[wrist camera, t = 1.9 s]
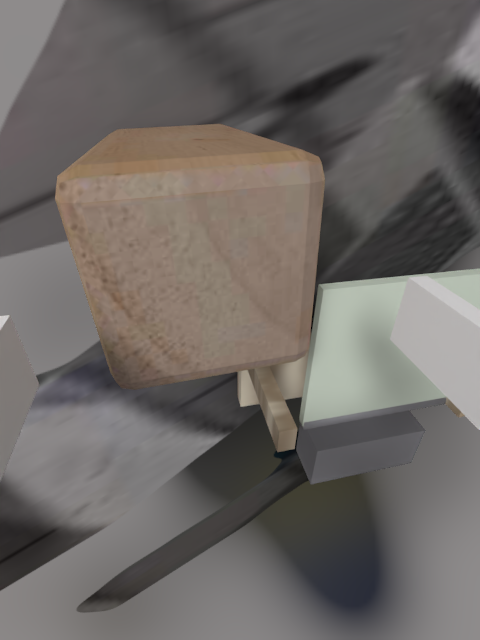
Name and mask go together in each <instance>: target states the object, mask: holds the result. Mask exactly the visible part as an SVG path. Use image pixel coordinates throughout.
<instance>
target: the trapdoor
mask: <svg viewBox="0 0 480 640" xmlns="http://www.w3.org/2000/svg"><path fill="white" fill-rule="evenodd" d="M419 276H428V277H430V278H431V279H433V280H434V281H436V282H438V283H439V284H441V285H442V286H444V287H445V288H447V289H448V290H450V291H451V292H453V293H455V294H456V295H458V296H459V297H461V298H462V299H464V300H465V301H467V302H469V303H470V304H472V305H473V306H475V307H476V308H478V309H479V310H480V269H471V270H460V271H450V272H440V273H430V274H420V275H410V276H399V277H389V278H379V279H369V280H359V281H349V282H338V283H328V284H319V286H318V292H317V299H316V306H315V313H314V320H313V327H312V334H311V341H310V348H309V354H308V361H307V368H306V375H305V382H304V389H303V396H302V403H301V410H300V417H299V421H300V427H299V434H298V441H297V447H296V451H297V453H298V455H299V458H300V460H301V462H302V465H303V467H304V470H305V472H306V474H307V477H308V479H309V482H310V484H314V483H319V482H324V481H328V480H333V479H338V478H343V477H347V476H352V475H357V474H361V473H366V472H371V471H375V470H380V469H385V468H390V467H394V466H398V465H403V464H408V463H411V462H412V460H413V457H414V455H415V453H416V450H417V448H418V446H419V444H420V441H421V439H422V437H423V434H424V433H425V429H424V428H423V427H422V426H421V424H420V423H419V422H418V421H417V420H416V418H415V417H414V416H413V415H412V414H411V412H410V411H409V410H414V409H420V408H426V407H431V406H437V405H442V404H445V403H446V398H447V397H446V396H445V395H444V394H443V393H442V392H441V391H440V390H439V389H438V388H437V387H436V386H435V385H434V384H433V383H432V382H431V381H430V380H429V379H428V378H427V377H426V375H425V374H424V373H423V372H422V371H421V370H420V369H419V368H418V367H417V366H416V365H415V364H414V363H413V362H412V361H411V360H410V359H409V358H408V357H407V356H406V355H405V354H404V353H403V352H402V351H401V350H400V349H399V348H398V347H397V346H396V345H395V344H394V343H393V342H392V341H391V340H390V337H391V334H392V330H393V327H394V324H395V320H396V317H397V314H398V310H399V307H400V304H401V301H402V297H403V294H404V291H405V287H406V284H407V281H408V278H409V277H419Z"/></svg>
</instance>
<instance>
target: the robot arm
mask: <svg viewBox="0 0 480 640" xmlns="http://www.w3.org/2000/svg"><path fill="white" fill-rule="evenodd" d="M390 340H391V341H392V342H393V343H394V344H395V345H396V346H397V347H398V348H399V349H400V350H401V351H402V352H403V353H404V354H405V355H406V356H407V357H408V358H409V359H410V360H411V361H412V362H413V363H414V364H415V365H416V366H417V367H418V368H419V369H420V370H421V371H422V372H423V373H424V374H425V375H426V377H427V378H428V379H429V380H430V381H431V382H432V383H433V384H434V385H435V386H436V387H437V388H438V389H439V390H440V391H441V392H442V393H443V394H444V395H445V396H446V397H447V398H448V399H449V400H450V401H451V402H452V403H453V404H454V405H455V406H456V407H457V408H458V409H459V410H460V411H461V412H462V413H463V414H464V415H465V416H466V417H467V418H468V419H469V420H470V421H471V422H472V423H473V424H474V425H475V426H476V427H477V428H478V429H479V430H480V310H479V309H478V308H476V307H475V306H473V305H472V304H470V303H469V302H467V301H465V300H464V299H462V298H461V297H459V296H458V295H456V294H455V293H453V292H451V291H450V290H448V289H447V288H445V287H444V286H442V285H441V284H439V283H438V282H436V281H434V280H433V279H431V278H430V277H428V276H419V277H409V278H408V281H407V284H406V287H405V291H404V294H403V297H402V301H401V304H400V307H399V310H398V314H397V317H396V320H395V324H394V327H393V330H392V334H391V337H390ZM38 387H39V383H38V380H37V378H36V376H35V374H34V371H33V369H32V366H31V364H30V362H29V359H28V357H27V354H26V352H25V350H24V347H23V345H22V343H21V340H20V338H19V336H18V333H17V331H16V328H15V326H14V324H13V321H12V319H11V316H10V315H7V316H0V481H1V479H2V476H3V474H4V471H5V469H6V466H7V464H8V461H9V459H10V456H11V454H12V452H13V449H14V447H15V444H16V442H17V439H18V437H19V434H20V432H21V429H22V427H23V424H24V422H25V419H26V417H27V414H28V412H29V409H30V407H31V404H32V402H33V399H34V397H35V394H36V392H37V389H38Z"/></svg>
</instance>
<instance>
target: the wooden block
mask: <svg viewBox="0 0 480 640" xmlns="http://www.w3.org/2000/svg"><path fill="white" fill-rule="evenodd" d="M324 185H325V178H324V173H323V167H322V163H321V161H320V158H319V157H318V156H315V155H313V154H311V153H308V152H306V151H304V150H301V149H298V148H295V147H291V146H288V145H285V144H282V143H279V142H276V141H273V140H270V139H266V138H263V137H260V136H257V135H254V134H251V133H248V132H244V131H241V130H238V129H235V128H232V127H229V126H226V125H222V124H209V125H190V126H172V127H153V128H134V129H118V130H116V131H114V132H112V133H111V134H109V135H108V136H107V137H105V138H104V139H103V140H102V141H100V142H99V143H98V144H97V145H95V146H94V147H93V148H92V149H91V150H89V151H88V152H87V153H86V154H84V155H83V156H82V157H81V158H79V159H78V160H77V161H76V162H74V163H73V164H72V165H71V166H70V167H68V168H67V169H66V170H65V171H63V172H62V173H61V174H60V175H58V176H57V185H56V195H55V200H56V203H57V206H58V209H59V212H60V215H61V219H62V222H63V225H64V228H65V231H66V234H67V237H68V240H69V244H70V247H71V250H72V253H73V256H74V259H75V262H76V266H77V269H78V272H79V275H80V278H81V281H82V284H83V287H84V290H85V294H86V297H87V300H88V303H89V306H90V309H91V312H92V315H93V319H94V322H95V325H96V328H97V331H98V334H99V338H100V341H101V344H102V347H103V350H104V353H105V356H106V359H107V363H108V366H109V369H110V372H111V374H112V376H113V377H114V379H115V381H116V382H117V383H118V384H119V385H120V387H121V388H126V389H133V390H136V389H141V388H147V387H153V386H158V385H164V384H170V383H175V382H181V381H187V380H193V379H198V378H204V377H210V376H215V375H221V374H227V373H233V372H238V371H244V370H250V369H255V368H261V367H267V366H272V365H278V364H284V363H290V362H295V361H297V360H299V359H300V358H302V357H304V356H305V355H306V353H307V351H308V349H309V342H310V332H311V321H312V311H313V300H314V290H315V279H316V269H317V258H318V248H319V237H320V227H321V216H322V206H323V195H324Z"/></svg>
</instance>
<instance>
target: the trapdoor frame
mask: <svg viewBox="0 0 480 640" xmlns="http://www.w3.org/2000/svg"><path fill="white" fill-rule="evenodd" d="M311 334H312V332H310V341H311ZM309 348H310V342H309ZM308 354H309V349H308V351H307V353H306V355H305V356H304V357H302V358H300V359H299V360H297V361H295V362H290V363H284V364H278V365H272V366H267V367H261V368H255V369H250V370H244V371H238V399H239V402H240V406H241V407H243V406H249V405H255V404H260V406H261V408H262V411H263V414H264V417H265V419H266V422H267V425H268V428H269V430H270V433H271V436H272V439H273V441H274V444H275V447H276V450H277V452H280V451H285V450H291V449H295V442H296V435H297V427H296V424H295V422H294V420H293V418H292V416H291V413H290V411H289V409H288V407H287V404H286V402H285V400H286V399H291V398H298V397H302V396H303V389H304V382H305V375H306V368H307V361H308ZM445 404H446V405H447V406H448V407H449V408H450V409H451V410H452V411H453V412H454V413H455V414H456V415H457V416H458V417H462V416H465V415H464V414H463V413H462V412H461V411H460V410H459V409H458V408H457V407H456V406H455V405H454V404H453V403H452V402H451V401H450V400H449V399H448V398H446V403H445Z"/></svg>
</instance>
